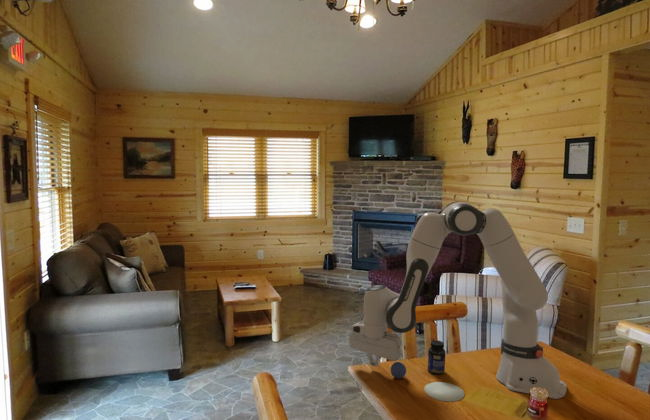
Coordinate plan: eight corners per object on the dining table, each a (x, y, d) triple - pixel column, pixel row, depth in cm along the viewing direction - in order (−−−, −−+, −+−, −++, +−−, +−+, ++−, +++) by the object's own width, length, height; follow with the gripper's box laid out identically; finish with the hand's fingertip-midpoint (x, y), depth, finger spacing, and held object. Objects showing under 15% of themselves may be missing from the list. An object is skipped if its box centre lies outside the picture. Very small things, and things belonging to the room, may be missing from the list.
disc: (469, 389, 154) (469, 389, 154) (456, 405, 143) (456, 405, 143) (433, 379, 161) (433, 378, 161) (418, 393, 151) (418, 392, 151)
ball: (408, 376, 163) (409, 362, 162) (401, 382, 158) (402, 367, 158) (394, 372, 166) (395, 358, 165) (387, 378, 161) (388, 363, 161)
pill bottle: (432, 376, 164) (433, 346, 163) (424, 368, 169) (425, 340, 168) (447, 374, 165) (449, 345, 164) (439, 367, 171) (440, 338, 170)
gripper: (404, 333, 163) (403, 370, 164) (356, 321, 175) (355, 355, 176) (396, 338, 158) (395, 376, 159) (347, 325, 169) (346, 361, 171)
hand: (373, 365), depth 167 cm, fingers closed
